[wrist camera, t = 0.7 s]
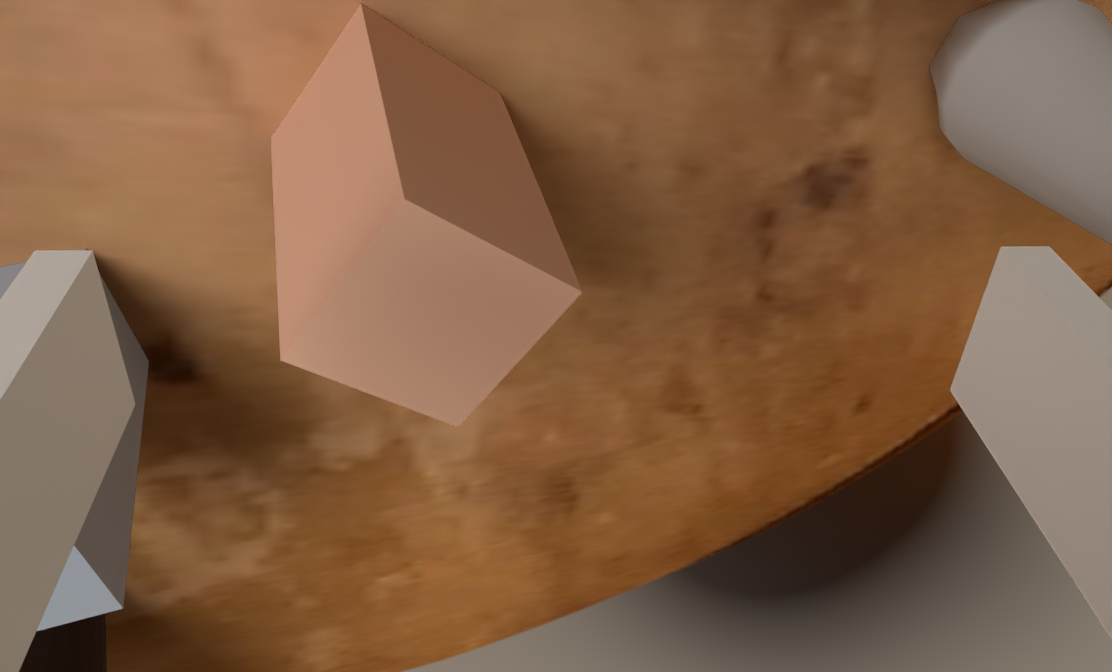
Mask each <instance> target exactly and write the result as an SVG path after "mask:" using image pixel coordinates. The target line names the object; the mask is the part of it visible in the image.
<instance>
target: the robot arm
mask: <svg viewBox="0 0 1112 672" xmlns="http://www.w3.org/2000/svg"><path fill="white" fill-rule="evenodd" d="M950 391H951V393H952V394H953V396H954V397H955V399H956V401H957V402H958V404H959V405H960V407H961V408H962V410H963V411H964V413H965V414H966V416H967V417H968V419H969V420H970V422H971V424H972V425H973V427H974V428H975V429H976V431H977V433H978V434H979V436H980V438H981V439H982V440H983V442H984V444H985V445H986V447H987V448H988V450H989V451H990V453H991V454H992V456H993V457H994V459H995V461H996V462H997V464H998V465H999V467H1000V468H1001V470H1002V471H1003V473H1004V474H1005V476H1006V478H1007V479H1008V481H1009V482H1010V484H1011V485H1012V487H1013V488H1014V490H1015V491H1016V493H1017V494H1018V496H1019V498H1020V499H1021V501H1022V502H1023V504H1024V505H1025V507H1026V508H1027V510H1028V511H1029V513H1030V515H1031V516H1032V518H1033V519H1034V521H1035V522H1036V524H1037V525H1038V527H1039V528H1040V530H1041V531H1042V533H1043V534H1044V536H1045V538H1046V539H1047V541H1048V542H1049V544H1050V545H1051V547H1052V548H1053V550H1054V551H1055V553H1056V555H1057V556H1058V558H1059V559H1060V561H1061V562H1062V564H1063V565H1064V567H1065V568H1066V570H1067V572H1068V573H1069V575H1070V576H1071V578H1072V579H1073V581H1074V582H1075V584H1076V585H1077V587H1078V588H1079V590H1080V591H1081V593H1082V595H1083V596H1084V598H1085V599H1086V601H1087V602H1088V604H1089V605H1090V607H1091V608H1092V610H1093V612H1094V613H1095V615H1096V616H1097V618H1098V619H1099V621H1100V622H1101V624H1102V625H1103V627H1104V628H1105V630H1106V632H1107V633H1108V635H1109V636H1110V638H1111V639H1112V310H1111V309H1110V308H1109V307H1108V306H1107V305H1106V304H1105V303H1104V302H1103V301H1102V300H1101V299H1100V298H1099V297H1098V296H1097V295H1096V294H1095V293H1094V292H1093V291H1092V290H1091V289H1090V288H1089V287H1088V286H1087V284H1086V283H1085V282H1084V281H1083V280H1082V279H1081V278H1080V277H1079V276H1078V275H1077V274H1076V273H1075V272H1074V271H1073V270H1072V269H1071V268H1070V267H1069V266H1068V265H1067V264H1066V263H1065V262H1064V261H1063V260H1062V259H1061V258H1060V257H1059V256H1058V255H1057V254H1056V253H1055V252H1054V251H1053V249H1052V248H1051V247H1050V246H1014V247H1000V250H999V253H998V256H997V259H996V261H995V264H994V267H993V270H992V273H991V275H990V278H989V281H988V284H987V287H986V290H985V292H984V295H983V298H982V301H981V304H980V306H979V309H978V312H977V315H976V318H975V320H974V323H973V326H972V329H971V332H970V335H969V337H968V340H967V343H966V346H965V349H964V351H963V354H962V357H961V360H960V363H959V365H958V368H957V371H956V374H955V377H954V380H953V382H952V385H951V388H950ZM134 407H135V401H134V397H133V393H132V390H131V386H130V383H129V379H128V375H127V372H126V368H125V365H124V361H123V357H122V354H121V350H120V347H119V343H118V339H117V336H116V332H115V329H114V325H113V321H112V318H111V314H110V311H109V307H108V304H107V300H106V296H105V293H104V289H103V286H102V282H101V278H100V275H99V271H98V268H97V264H96V260H95V257H94V253H93V250H68V251H34V253H33V254H32V256H31V257H30V258H29V260H28V261H27V263H26V264H25V265H24V267H23V268H22V270H21V271H20V272H19V274H18V275H17V277H16V278H15V279H14V281H13V282H12V284H11V285H10V286H9V288H8V289H7V291H6V292H5V293H4V295H3V296H2V298H1V299H0V672H19V670H20V668H21V665H22V663H23V661H24V658H25V656H26V654H27V652H28V649H29V647H30V645H31V642H32V640H33V638H34V636H35V633H36V631H37V629H38V626H39V624H40V622H41V619H42V617H43V615H44V613H45V610H46V608H47V606H48V603H49V601H50V599H51V597H52V594H53V592H54V590H55V587H56V585H57V583H58V581H59V578H60V576H61V574H62V571H63V569H64V567H65V565H66V562H67V560H68V558H69V555H70V553H71V551H72V549H73V546H74V544H75V542H76V539H77V537H78V535H79V532H80V530H81V528H82V526H83V523H84V521H85V519H86V516H87V514H88V512H89V510H90V507H91V505H92V503H93V500H94V498H95V496H96V494H97V491H98V489H99V487H100V484H101V482H102V480H103V478H104V475H105V473H106V471H107V468H108V466H109V464H110V461H111V459H112V457H113V455H114V452H115V450H116V448H117V445H118V443H119V441H120V439H121V436H122V434H123V432H124V429H125V427H126V425H127V423H128V420H129V418H130V416H131V413H132V411H133V409H134Z"/></svg>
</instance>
